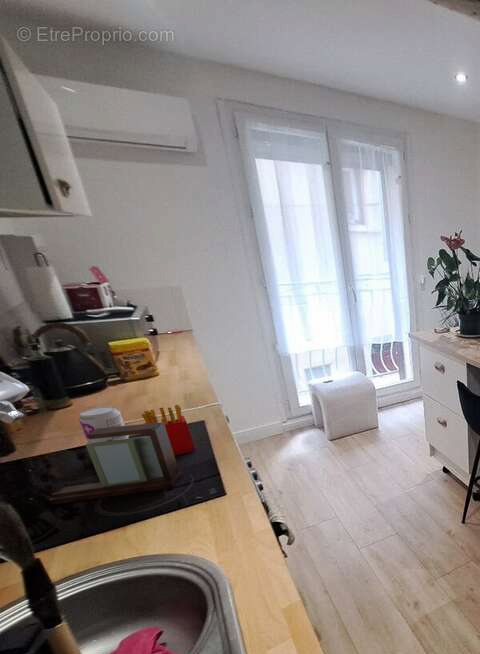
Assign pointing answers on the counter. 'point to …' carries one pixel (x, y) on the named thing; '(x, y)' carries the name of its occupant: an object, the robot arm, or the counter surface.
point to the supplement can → (101, 422)
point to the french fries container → (173, 429)
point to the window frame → (152, 454)
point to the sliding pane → (117, 462)
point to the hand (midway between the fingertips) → (17, 419)
